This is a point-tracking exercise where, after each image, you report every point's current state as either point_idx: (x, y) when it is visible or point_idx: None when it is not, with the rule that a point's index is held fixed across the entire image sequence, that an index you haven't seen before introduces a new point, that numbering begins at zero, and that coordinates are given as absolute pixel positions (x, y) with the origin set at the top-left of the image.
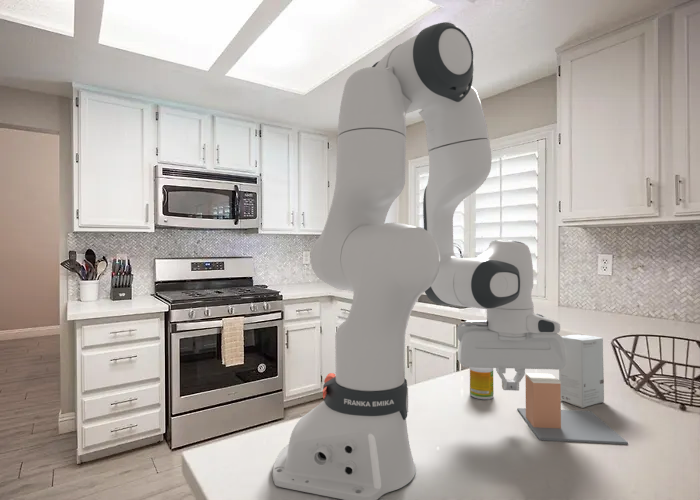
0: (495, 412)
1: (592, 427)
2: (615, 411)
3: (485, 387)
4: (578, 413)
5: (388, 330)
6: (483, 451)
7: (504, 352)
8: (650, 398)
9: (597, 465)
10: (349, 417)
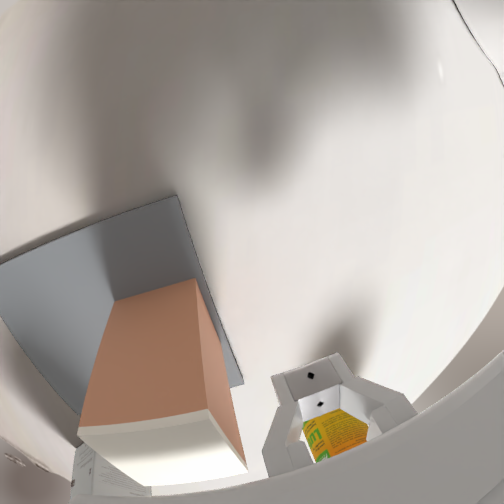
0: (304, 343)
1: (48, 336)
2: (47, 422)
3: (331, 419)
4: None
5: None
6: (351, 59)
7: (449, 499)
8: (32, 459)
9: (31, 98)
10: None
